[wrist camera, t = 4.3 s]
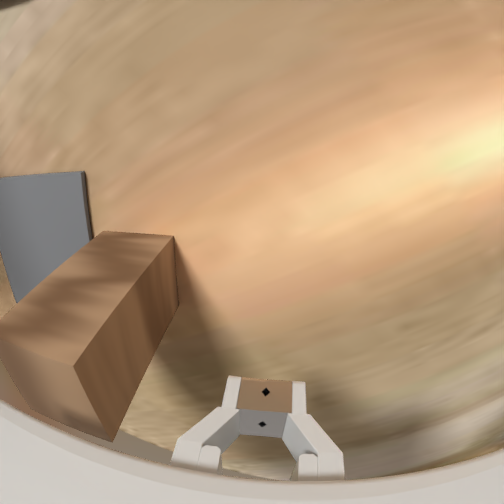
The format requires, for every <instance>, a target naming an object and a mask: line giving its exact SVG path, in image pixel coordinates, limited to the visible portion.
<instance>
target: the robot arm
mask: <svg viewBox="0 0 504 504" xmlns="http://www.w3.org/2000/svg"><path fill="white" fill-rule="evenodd" d="M239 434H242V435H255V436H267V437H278V438H282V440H283V441H284V443H285V445H286V446H287V448H288V449H289V451H290V453H291V454H292V456H293V458H294V459H295V461H296V462H297V463H296V465H295V468H294V470H293V473H292V475H291V478H290V480H289V481H282V480H265V479H253V478H243V477H234V476H226V475H223V471H222V457H221V454H222V453H223V452H224V451H225V450H226V449H227V448H228V447H229V446H230V445H231V444H232V443H233V442H234V441H235V440H236V439H237V437H238V436H239ZM0 504H504V448H503V449H501V450H498V451H495V452H492V453H489V454H486V455H483V456H479V457H476V458H473V459H469V460H466V461H462V462H458V463H454V464H450V465H446V466H442V467H438V468H433V469H428V470H423V471H418V472H412V473H406V474H400V475H393V476H386V477H377V478H367V479H356V480H345V474H344V461H343V453H342V451H341V450H340V449H339V448H338V447H337V446H336V444H335V443H334V442H333V441H332V440H331V439H330V437H329V436H328V435H327V434H326V433H325V431H324V430H323V429H322V428H321V427H320V425H319V424H318V423H317V422H316V421H315V419H314V418H313V417H312V416H311V415H310V414H307V409H306V383H305V382H300V381H284V380H268V379H267V380H264V379H256V378H247V377H239V376H231V375H229V377H228V379H227V383H226V388H225V393H224V397H223V402H222V406H221V407H217V408H215V409H214V410H213V411H212V412H211V413H209V414H208V415H207V416H206V417H205V418H203V419H202V420H201V421H200V422H198V423H197V424H196V425H195V426H193V427H192V428H191V429H190V430H188V431H187V432H186V433H185V434H183V435H182V436H181V437H179V438H178V440H177V443H176V446H175V449H174V452H173V456H172V459H171V462H170V465H166V464H162V463H158V462H154V461H149V460H146V459H142V458H138V457H135V456H132V455H129V454H125V453H122V452H119V451H116V450H113V449H110V448H107V447H103V446H101V445H98V444H95V443H92V442H90V441H87V440H84V439H82V438H79V437H77V436H74V435H72V434H70V433H67V432H65V431H62V430H60V429H58V428H56V427H53V426H51V425H49V424H47V423H45V422H43V421H41V420H39V419H37V418H35V417H33V416H30V415H29V414H27V413H25V412H23V411H21V410H19V409H17V408H15V407H13V406H11V405H10V404H8V403H6V402H5V401H2V400H0Z"/></svg>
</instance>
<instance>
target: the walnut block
mask: <svg viewBox="0 0 504 504" xmlns="http://www.w3.org/2000/svg"><path fill="white" fill-rule="evenodd" d="M178 306H179V301H178V291H177V279H176V267H175V253H174V238H173V236H167V235H154V234H140V233H126V232H111V231H103V232H101V233H100V234H99V235H97V236H96V237H95V238H94V239H92V240H91V241H90V242H88V243H87V244H86V245H85V246H83V247H82V248H81V249H80V250H78V251H77V252H76V253H75V254H73V255H72V256H71V257H70V258H69V259H67V260H66V261H65V262H64V263H62V264H61V265H60V266H59V267H58V268H57V269H55V270H54V271H53V272H52V273H51V274H50V275H48V276H47V277H46V278H45V279H44V280H43V281H41V282H40V283H39V284H38V285H37V286H36V287H35V288H34V289H32V290H31V291H30V292H29V293H28V294H27V295H26V296H25V297H24V298H23V299H21V300H20V301H19V302H18V303H17V304H16V305H15V306H14V307H13V308H12V309H11V310H10V311H9V312H8V313H7V314H6V315H5V316H4V317H3V318H2V319H1V320H0V359H1V361H2V363H3V365H4V366H5V368H6V370H7V371H8V373H9V375H10V377H11V378H12V380H13V382H14V384H15V385H16V387H17V388H18V390H19V392H20V393H21V395H22V396H23V398H24V399H25V401H26V402H27V404H28V405H29V407H30V408H31V409H32V410H34V411H36V412H38V413H40V414H42V415H45V416H47V417H49V418H51V419H53V420H55V421H58V422H60V423H62V424H64V425H67V426H69V427H72V428H74V429H77V430H79V431H82V432H84V433H87V434H90V435H93V436H95V437H98V438H101V439H104V440H107V441H110V442H113V440H114V438H115V436H116V434H117V431H118V429H119V427H120V425H121V423H122V421H123V418H124V416H125V414H126V412H127V410H128V408H129V405H130V403H131V401H132V399H133V397H134V395H135V393H136V391H137V389H138V386H139V384H140V382H141V380H142V378H143V376H144V374H145V372H146V370H147V368H148V366H149V364H150V362H151V360H152V358H153V355H154V353H155V351H156V349H157V347H158V345H159V343H160V341H161V339H162V337H163V335H164V333H165V331H166V329H167V327H168V325H169V323H170V321H171V320H172V318H173V316H174V314H175V312H176V310H177V308H178Z"/></svg>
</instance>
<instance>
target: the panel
mask: <svg viewBox="0 0 504 504" xmlns="http://www.w3.org/2000/svg"><path fill="white" fill-rule="evenodd" d="M91 240H92V233H91V226H90V219H89V211H88V203H87V195H86V185H85V174H84V171H79V172H61V173H47V174H34V175H23V176H12V177H3V178H0V252H1V255H2V259H3V262H4V266H5V269H6V273H7V276H8V279H9V282H10V285H11V288H12V291H13V294H14V297H15V300H16V303H18V302H19V301H20V300H21V299H23V298H24V297H25V296H26V295H27V294H28V293H29V292H30V291H31V290H32V289H34V288H35V287H36V286H37V285H38V284H39V283H40V282H41V281H43V280H44V279H45V278H46V277H47V276H48V275H50V274H51V273H52V272H53V271H54V270H55V269H57V268H58V267H59V266H60V265H61V264H62V263H64V262H65V261H66V260H67V259H69V258H70V257H71V256H72V255H73V254H75V253H76V252H77V251H78V250H80V249H81V248H82V247H83V246H85V245H86V244H87V243H88V242H90V241H91Z"/></svg>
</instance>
